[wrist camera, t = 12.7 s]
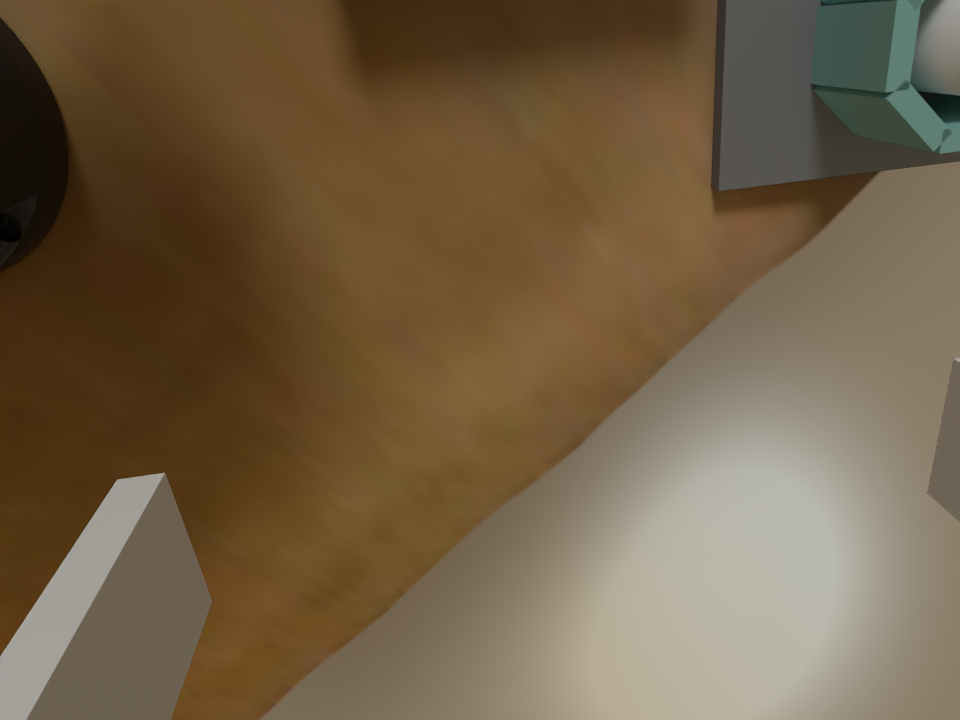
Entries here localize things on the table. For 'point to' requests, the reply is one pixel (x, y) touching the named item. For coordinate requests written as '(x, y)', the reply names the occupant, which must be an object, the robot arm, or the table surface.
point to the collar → (879, 75)
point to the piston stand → (807, 96)
